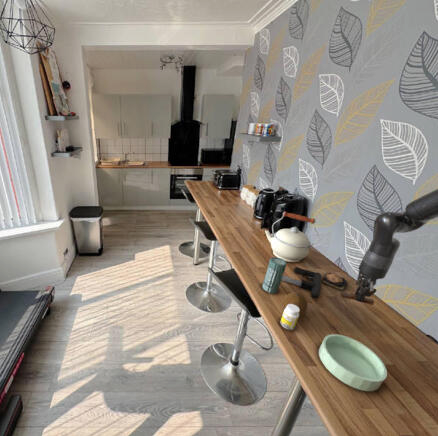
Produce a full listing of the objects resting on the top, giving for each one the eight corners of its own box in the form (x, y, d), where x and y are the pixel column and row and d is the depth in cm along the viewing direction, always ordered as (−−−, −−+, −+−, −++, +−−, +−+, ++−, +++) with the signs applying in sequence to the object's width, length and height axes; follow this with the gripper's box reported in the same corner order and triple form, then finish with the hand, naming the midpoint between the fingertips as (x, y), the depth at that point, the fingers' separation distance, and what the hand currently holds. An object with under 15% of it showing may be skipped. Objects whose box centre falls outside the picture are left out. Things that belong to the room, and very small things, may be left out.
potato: (282, 318, 91) (288, 303, 88) (280, 298, 101) (285, 283, 98) (306, 326, 88) (313, 310, 85) (302, 304, 98) (308, 289, 95)
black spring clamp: (280, 281, 107) (323, 296, 98) (287, 262, 122) (325, 273, 113) (278, 287, 108) (320, 302, 99) (285, 268, 123) (323, 279, 114)
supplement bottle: (290, 320, 90) (296, 303, 87) (297, 330, 86) (304, 313, 82) (277, 319, 90) (283, 302, 87) (283, 329, 86) (290, 312, 82)
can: (280, 291, 105) (289, 263, 99) (271, 295, 103) (280, 266, 96) (268, 283, 110) (276, 255, 104) (259, 286, 107) (267, 258, 101)
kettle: (311, 256, 133) (326, 216, 123) (305, 270, 120) (321, 226, 110) (265, 241, 148) (275, 204, 138) (255, 252, 135) (266, 212, 125)
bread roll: (343, 291, 106) (346, 285, 105) (321, 282, 112) (324, 276, 110) (347, 281, 113) (350, 275, 112) (326, 273, 119) (329, 267, 117)
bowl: (371, 357, 77) (377, 347, 75) (388, 402, 65) (395, 392, 63) (316, 336, 84) (320, 327, 82) (321, 373, 71) (326, 364, 69)
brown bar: (371, 302, 93) (373, 298, 92) (373, 306, 90) (374, 302, 90) (340, 292, 97) (341, 289, 96) (341, 296, 95) (342, 293, 94)
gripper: (396, 275, 79) (375, 314, 86) (383, 257, 90) (365, 292, 97) (367, 269, 83) (349, 306, 90) (358, 251, 94) (343, 286, 101)
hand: (358, 299), depth 93 cm, fingers closed on brown bar, 1 cm apart
